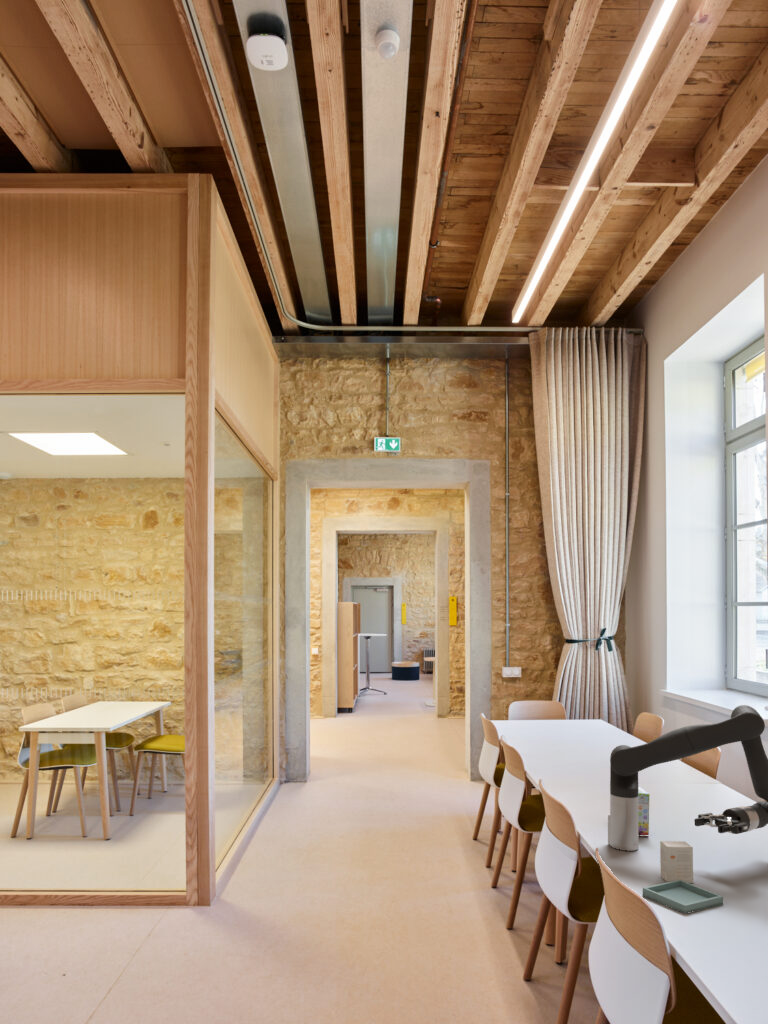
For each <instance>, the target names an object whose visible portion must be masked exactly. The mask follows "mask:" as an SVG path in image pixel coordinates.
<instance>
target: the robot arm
mask: <svg viewBox="0 0 768 1024" xmlns="http://www.w3.org/2000/svg"><path fill="white" fill-rule="evenodd" d="M765 728H766V724H765V720H764V719H763V717H762V716H761V714H760V713H759V712H758V711H757V710H756V709H755V708H753V706H750V705H746V704H740V705H738V706H736V707H735V708H734V709H733V710H732V712H731V715H730V718H729V719H726V720H723V721H721V722H717V723H711V724H709V723H708V724H693V725H687V726H684V727H680V728H677V729H674V730H671V731H669V732H667V733H664V734H662V735H660V736H658V737H657V738H654V739H653V740H651V741H649V742H647V743H643V744H641V745H635V746H632V747H630V746H629V745H625V744H621V745H620V744H619V745H617V746H616V747H614V748H613V749H612V750H611V752H610V758H609V761H610V762H609V763H610V769H609V771H610V775H609V776H610V779H609V780H610V781H609V783H610V784H609V804H610V805H609V814H608V815H607V844H608V845H609V844H610V845H609V846H610V847H611V846H612V847H611V848H612V849H615V848H616V850H619V849H620V850H619V851H625V850H627V851H628V852H631V851H632V852H633V851H637V850H638V849H639V836H638V786H639V772H641V771H643V770H645V769H648V768H650V767H653V766H655V765H660V764H665V763H668V762H673V761H676V760H681V759H684V758H688V757H692V756H695V755H697V754H698V755H699V754H701V753H703V752H707V751H710V750H714V749H715V748H718V747H721V746H724V745H728V744H733V743H739V742H740V744H741V746H742V749H743V752H744V756H745V759H746V764H747V767H748V772H749V775H750V778H751V783H752V787H753V790H754V793H755V795H756V796H757V797H758V798H760V799H763V801H761V800H760V801H756V802H755V803H753V804H752V805H747V806H737V807H732V808H731V807H730V808H726V809H725V810H724V811H723V812H722V813H721V814H717V815H716V814H713V813H712V812H709V813H701V814H698V815H697V818H694V826H695V827H700V826H709V827H711V828H717V832H718V833H719V834H725V833H729V834H734V835H739V834H742V833H748V832H751V831H753V830H757V829H761V828H765V827H766V826H767V825H768V756H767V753H766V751H765V749H764V745H763V742H762V737H761V735H763V733H764V732H765ZM713 822H714V823H713ZM627 851H626V852H627Z"/></svg>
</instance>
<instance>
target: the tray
mask: <svg viewBox="0 0 768 1024" xmlns="http://www.w3.org/2000/svg"><path fill="white" fill-rule="evenodd" d="M642 896H643V897H645V896H646V897H645V898H647V899H650V900H652V901H654V902H656V903H659V904H661V903H662V904H661V905H663V906H666V905H667V906H666V907H668V906H669V908H671V907H672V908H671V909H673V908H674V909H673V910H675V909H676V910H675V911H677V910H679V911H678V912H680V911H681V912H680V913H682V912H684V913H687V914H689V913H688V912H691V913H693V912H692V911H695V912H699V911H702V909H703V910H707V909H710V908H714V907H718V906H722V905H724V896H722V895H721V894H717V893H715V892H713V891H710V890H709V889H708V890H707V889H705V888H703V887H699V886H697V885H694V884H693V883H687V882H685V881H682V880H676V881H671V882H663V883H659V884H653V885H649V886H645V887H642ZM706 908H707V909H706ZM698 910H699V911H698ZM684 913H683V914H684Z"/></svg>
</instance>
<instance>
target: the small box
mask: <svg viewBox="0 0 768 1024" xmlns="http://www.w3.org/2000/svg"><path fill="white" fill-rule="evenodd" d="M659 847H660V848H659V849H660V851H659V852H660V853H659V854H660V858H659V859H660V862H659V863H660V877H661V878H662V879H663V880H664V881H665V883H667V882H671V881H676V880H682V881H685V882H687V883H690V884H694V857H693V856H694V851H693V850H694V849H693V846H692V845H691V844H689V843H688V842H686V841H681V840H679V841H677V840H676V841H675V840H674V841H672V840H671V841H670V840H669V841H667V840H663V841H662V840H661V841H660V842H659Z"/></svg>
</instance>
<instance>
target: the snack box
mask: <svg viewBox="0 0 768 1024" xmlns="http://www.w3.org/2000/svg"><path fill="white" fill-rule="evenodd" d="M649 825H650V793H649V792H647V790H645V789H643V788H642V787H641V786H640V785H638V835H649V833H650V832H649V831H650V830H649V829H650V826H649Z"/></svg>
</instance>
